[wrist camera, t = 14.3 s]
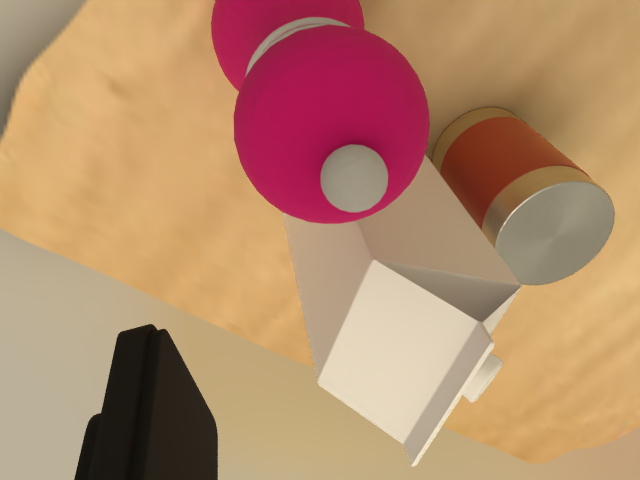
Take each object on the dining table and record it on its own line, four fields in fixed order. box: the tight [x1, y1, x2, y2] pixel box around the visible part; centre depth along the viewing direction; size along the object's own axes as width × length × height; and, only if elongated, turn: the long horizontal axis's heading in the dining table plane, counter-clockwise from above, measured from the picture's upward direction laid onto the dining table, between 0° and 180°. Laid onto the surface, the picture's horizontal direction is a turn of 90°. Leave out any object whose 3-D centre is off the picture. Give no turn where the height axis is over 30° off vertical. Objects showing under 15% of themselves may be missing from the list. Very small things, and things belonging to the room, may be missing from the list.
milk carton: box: [282, 155, 522, 466], centre depth 29 cm, size 7×7×19 cm
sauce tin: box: [432, 107, 615, 285], centre depth 33 cm, size 7×7×10 cm
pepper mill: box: [211, 0, 430, 224], centre depth 22 cm, size 7×7×20 cm
